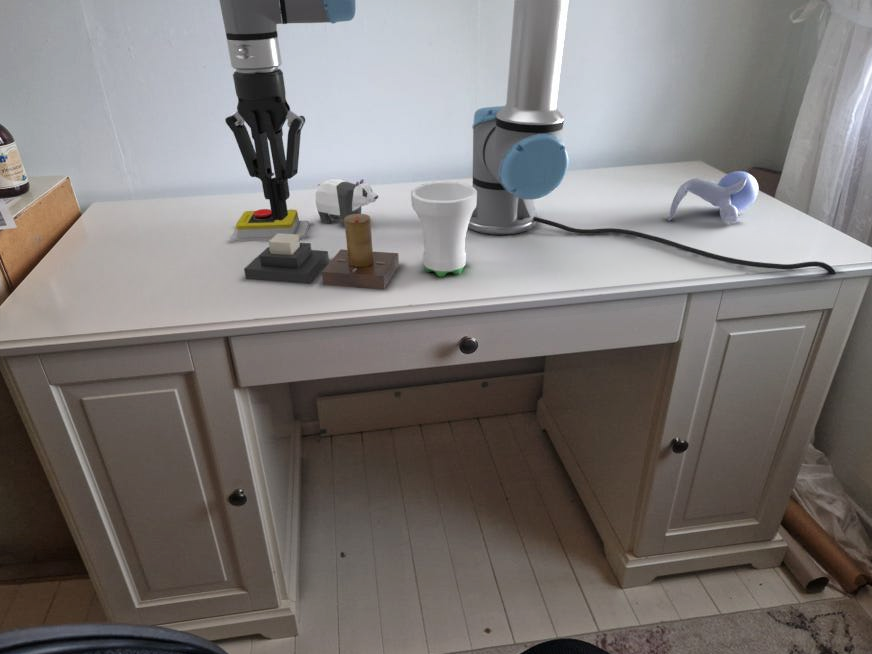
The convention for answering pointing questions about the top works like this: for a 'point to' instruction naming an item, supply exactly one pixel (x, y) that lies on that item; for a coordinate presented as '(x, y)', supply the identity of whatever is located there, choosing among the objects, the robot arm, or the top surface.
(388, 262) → the volume panel
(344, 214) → the giant panda
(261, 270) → the grey stepped base
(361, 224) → the volume knob
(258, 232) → the emergency button
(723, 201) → the seal
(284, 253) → the cream square push button
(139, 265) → the top surface
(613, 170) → the top surface
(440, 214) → the cup
